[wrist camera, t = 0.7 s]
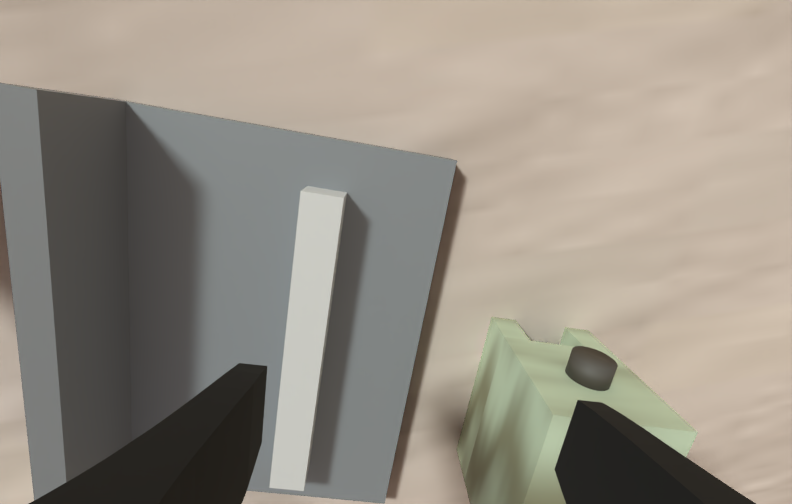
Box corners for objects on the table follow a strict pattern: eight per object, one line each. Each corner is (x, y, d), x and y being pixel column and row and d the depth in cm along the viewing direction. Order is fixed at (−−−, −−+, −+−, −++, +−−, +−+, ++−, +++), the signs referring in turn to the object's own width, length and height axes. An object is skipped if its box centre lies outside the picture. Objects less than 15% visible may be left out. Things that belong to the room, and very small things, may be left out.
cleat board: (384, 487, 22) (385, 587, 17) (120, 461, 20) (40, 560, 16) (452, 159, 17) (482, 168, 12) (109, 98, 15) (-11, 81, 11)
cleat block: (543, 458, 22) (617, 603, 15) (456, 449, 21) (492, 593, 15) (593, 314, 19) (708, 409, 13) (496, 299, 19) (561, 391, 12)
